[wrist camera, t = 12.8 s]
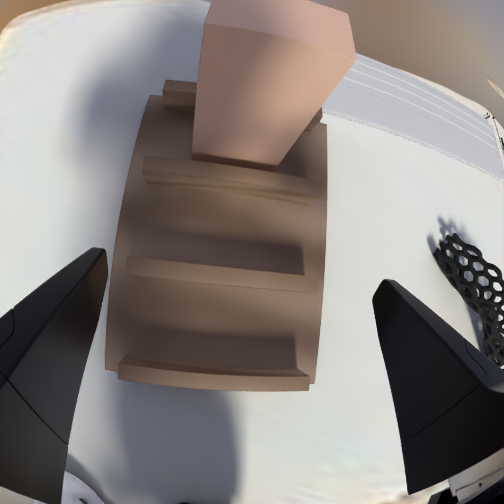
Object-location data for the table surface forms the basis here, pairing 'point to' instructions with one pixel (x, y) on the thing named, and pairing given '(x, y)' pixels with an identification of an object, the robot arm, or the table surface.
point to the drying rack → (217, 261)
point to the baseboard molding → (415, 114)
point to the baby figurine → (76, 492)
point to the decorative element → (471, 299)
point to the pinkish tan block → (265, 77)
